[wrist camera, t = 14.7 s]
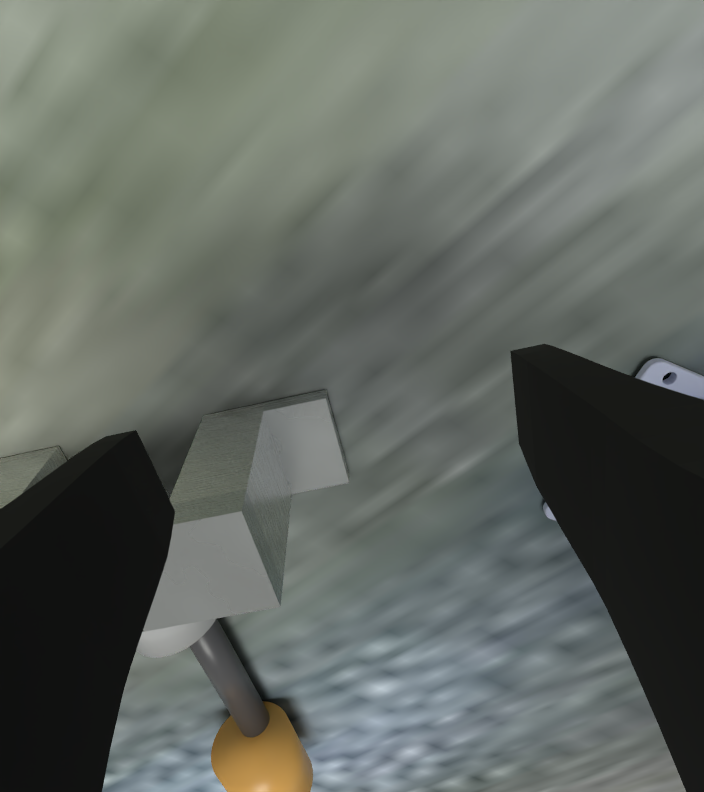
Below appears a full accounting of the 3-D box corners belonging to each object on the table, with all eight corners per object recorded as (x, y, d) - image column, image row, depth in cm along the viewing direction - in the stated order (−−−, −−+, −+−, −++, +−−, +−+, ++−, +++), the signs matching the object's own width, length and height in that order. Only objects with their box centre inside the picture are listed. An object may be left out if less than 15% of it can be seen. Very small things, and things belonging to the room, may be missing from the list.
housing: (-56, 470, 22) (-185, 595, 17) (325, 389, 21) (323, 494, 16) (-4, 542, 24) (-105, 677, 19) (348, 472, 23) (354, 593, 18)
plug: (122, 538, 25) (75, 618, 21) (209, 524, 24) (177, 603, 20) (247, 745, 32) (230, 830, 29) (316, 739, 32) (307, 825, 28)
